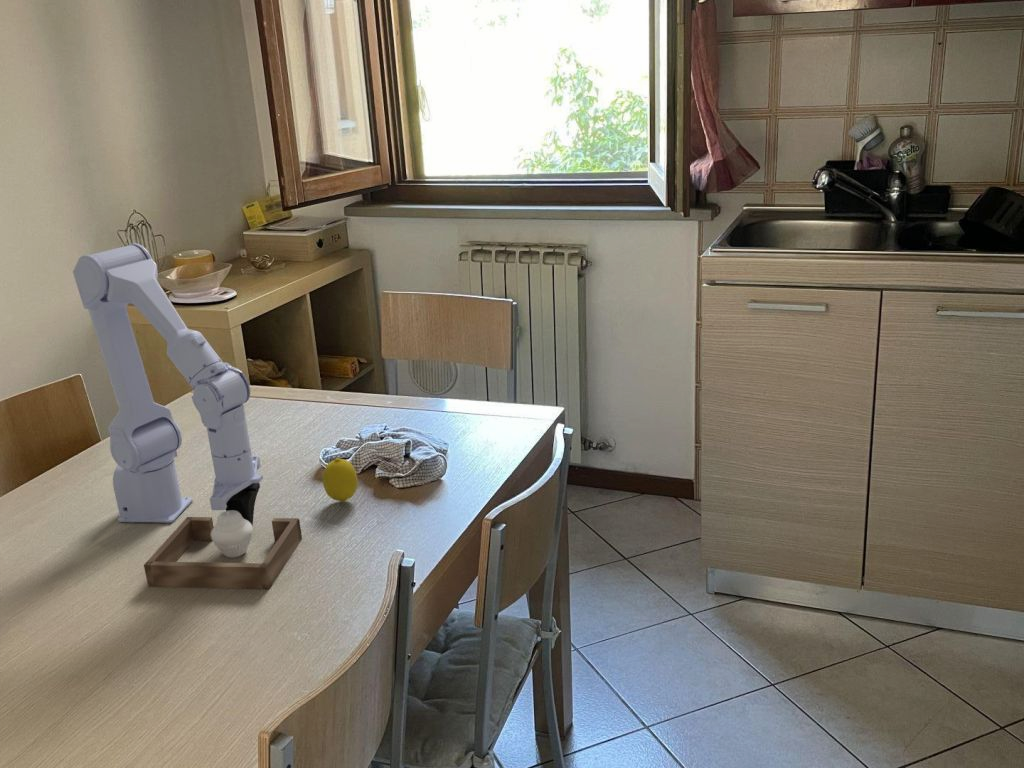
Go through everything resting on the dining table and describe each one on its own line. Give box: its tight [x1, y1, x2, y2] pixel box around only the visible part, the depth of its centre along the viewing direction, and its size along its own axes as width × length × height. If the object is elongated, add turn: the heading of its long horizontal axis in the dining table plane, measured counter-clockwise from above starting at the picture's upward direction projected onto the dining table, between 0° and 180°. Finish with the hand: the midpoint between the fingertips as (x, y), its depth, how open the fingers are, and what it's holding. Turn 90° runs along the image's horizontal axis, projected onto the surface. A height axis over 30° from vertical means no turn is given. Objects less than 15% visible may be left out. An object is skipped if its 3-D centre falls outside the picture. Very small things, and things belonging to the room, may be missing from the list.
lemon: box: [322, 457, 358, 504], centre depth 153 cm, size 6×6×8 cm
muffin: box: [211, 510, 254, 559], centre depth 139 cm, size 6×6×7 cm
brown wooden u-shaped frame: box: [143, 516, 303, 590], centre depth 138 cm, size 18×14×4 cm
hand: (244, 529), depth 144 cm, fingers closed
